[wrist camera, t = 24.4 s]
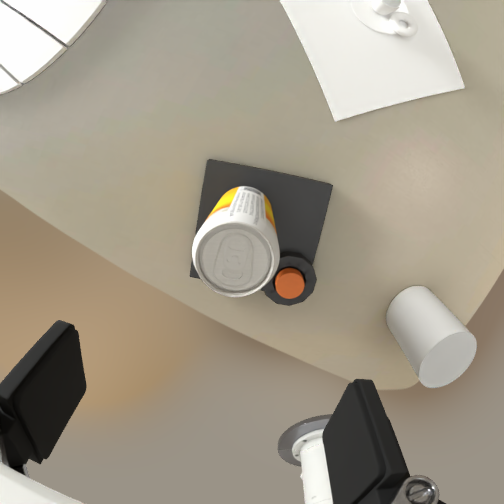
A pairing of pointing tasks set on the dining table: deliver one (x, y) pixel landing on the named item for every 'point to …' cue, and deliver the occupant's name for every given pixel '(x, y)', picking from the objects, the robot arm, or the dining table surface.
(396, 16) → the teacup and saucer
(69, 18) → the lazy susan
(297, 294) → the power button
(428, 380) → the cup
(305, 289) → the scale
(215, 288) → the beer can
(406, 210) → the dining table surface
